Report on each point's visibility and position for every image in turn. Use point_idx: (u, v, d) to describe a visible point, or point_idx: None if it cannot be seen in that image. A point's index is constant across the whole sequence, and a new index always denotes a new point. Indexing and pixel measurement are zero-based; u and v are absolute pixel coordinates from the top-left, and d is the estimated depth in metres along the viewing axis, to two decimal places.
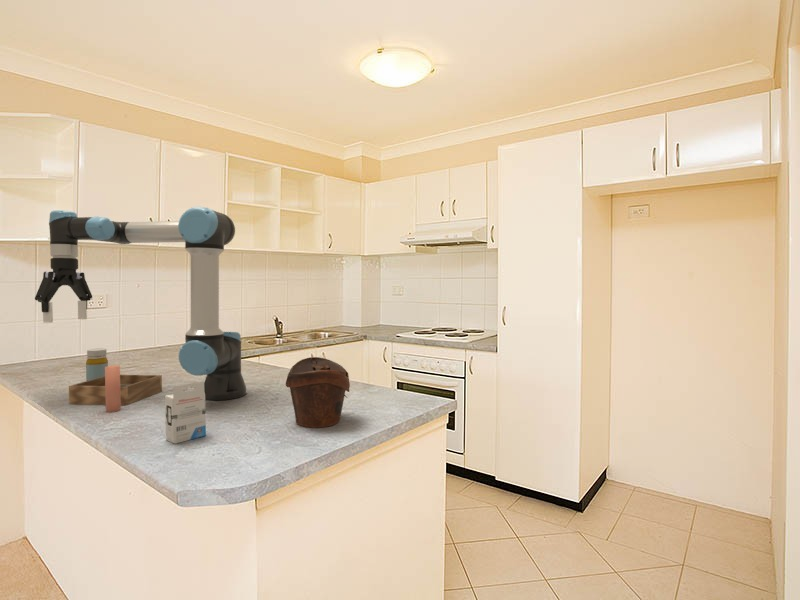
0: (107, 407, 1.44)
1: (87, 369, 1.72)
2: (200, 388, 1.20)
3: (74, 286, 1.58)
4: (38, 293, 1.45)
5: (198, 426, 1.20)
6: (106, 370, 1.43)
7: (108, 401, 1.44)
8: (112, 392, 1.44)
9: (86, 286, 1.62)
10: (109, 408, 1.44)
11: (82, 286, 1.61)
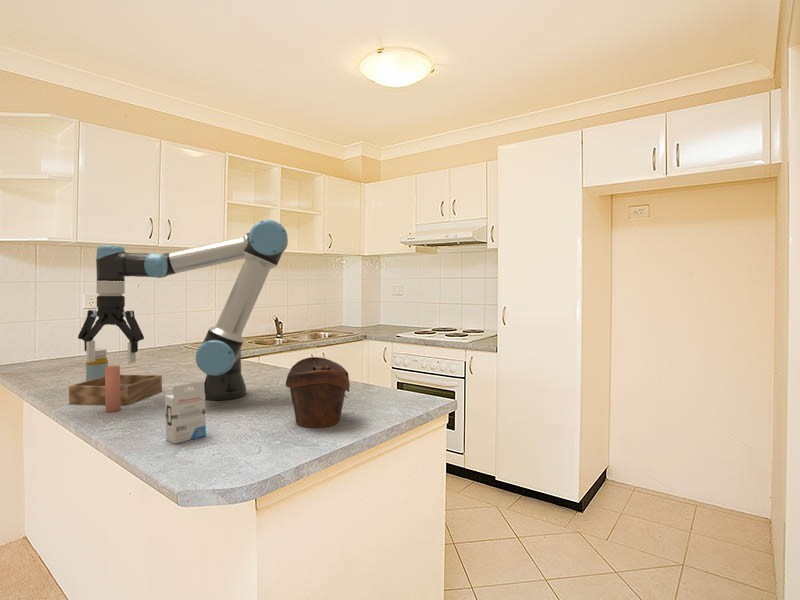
0: (107, 407, 1.44)
1: (87, 369, 1.72)
2: (200, 388, 1.20)
3: None
4: None
5: (198, 426, 1.20)
6: (106, 370, 1.43)
7: (108, 401, 1.44)
8: (112, 392, 1.44)
9: (131, 326, 1.43)
10: (109, 408, 1.44)
11: None
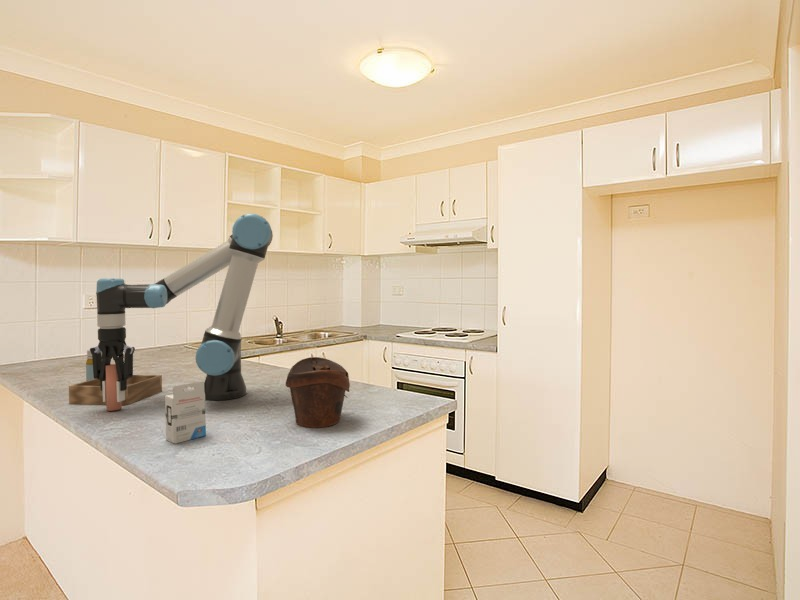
0: (108, 406, 1.44)
1: (87, 369, 1.72)
2: (200, 388, 1.20)
3: None
4: None
5: (198, 426, 1.20)
6: (107, 369, 1.43)
7: (109, 399, 1.44)
8: (113, 390, 1.44)
9: (125, 363, 1.44)
10: (109, 406, 1.44)
11: None
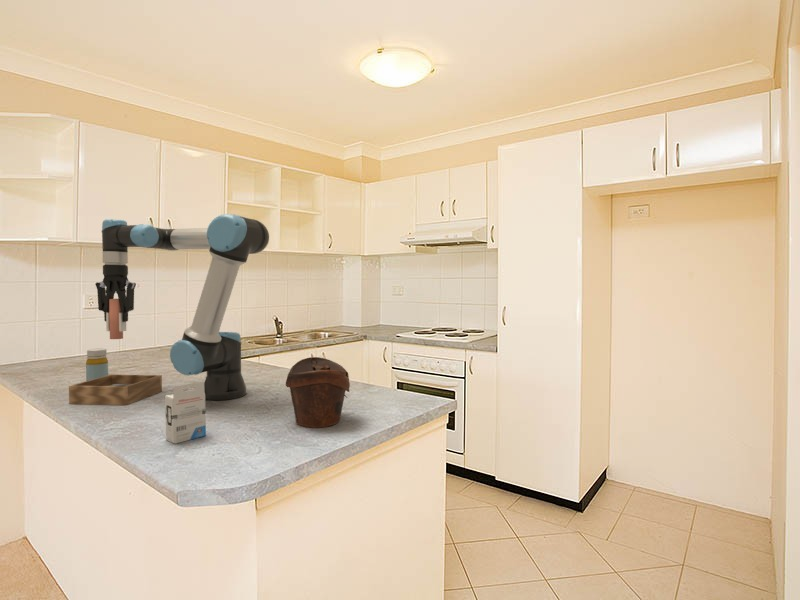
0: (111, 335, 1.60)
1: (87, 369, 1.72)
2: (200, 388, 1.20)
3: None
4: None
5: (198, 426, 1.20)
6: (110, 301, 1.59)
7: (112, 329, 1.59)
8: (115, 321, 1.60)
9: (127, 297, 1.59)
10: (112, 335, 1.59)
11: None
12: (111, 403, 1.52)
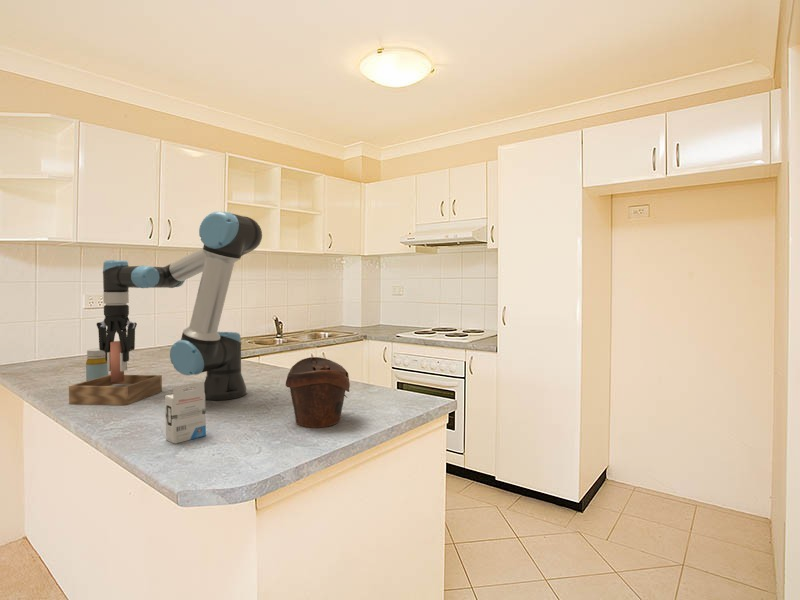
0: (112, 378, 1.60)
1: (87, 369, 1.72)
2: (200, 388, 1.20)
3: None
4: None
5: (198, 426, 1.20)
6: (111, 345, 1.60)
7: (113, 372, 1.60)
8: (116, 364, 1.60)
9: (128, 337, 1.60)
10: (113, 378, 1.60)
11: None
12: (111, 403, 1.52)
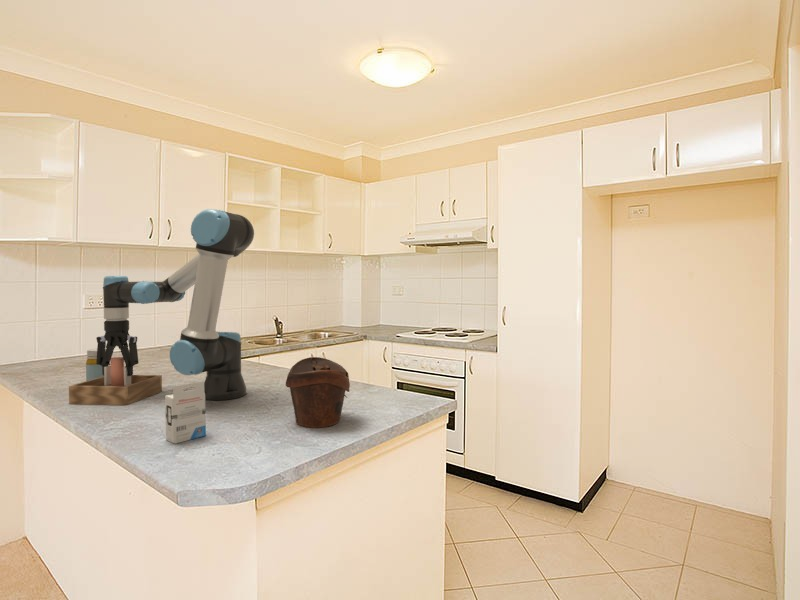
0: None
1: (87, 369, 1.72)
2: (200, 388, 1.20)
3: None
4: None
5: (198, 426, 1.20)
6: (112, 361, 1.60)
7: None
8: (117, 380, 1.60)
9: (130, 351, 1.60)
10: None
11: None
12: (111, 403, 1.52)
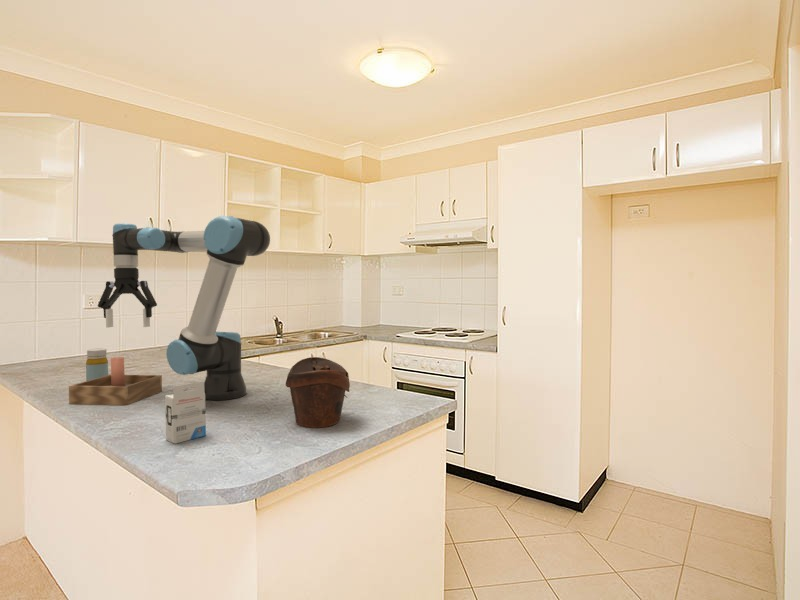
0: None
1: (87, 369, 1.72)
2: (200, 388, 1.20)
3: None
4: None
5: (198, 426, 1.20)
6: (112, 361, 1.60)
7: None
8: (117, 380, 1.60)
9: (145, 294, 1.62)
10: None
11: None
12: (111, 403, 1.52)
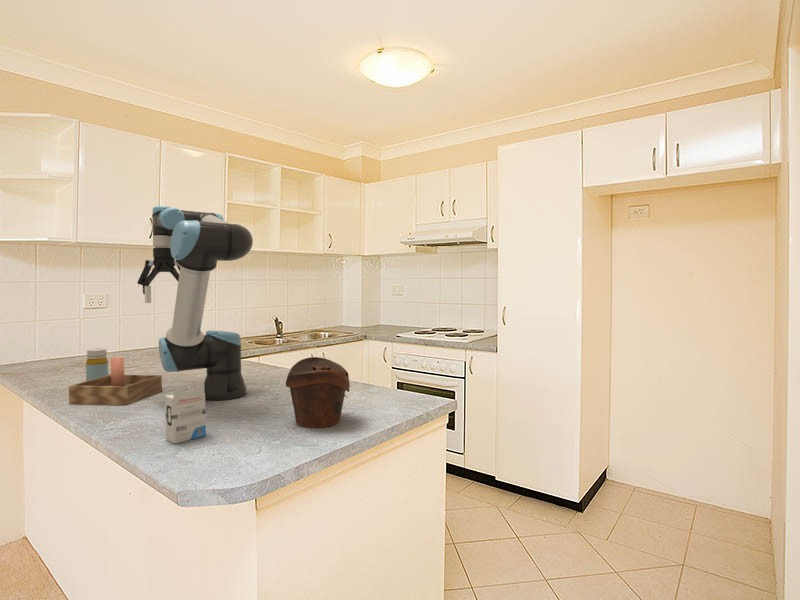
0: None
1: (87, 369, 1.72)
2: (200, 388, 1.20)
3: None
4: None
5: (198, 426, 1.20)
6: (112, 361, 1.60)
7: None
8: (117, 380, 1.60)
9: None
10: None
11: None
12: (111, 403, 1.52)
